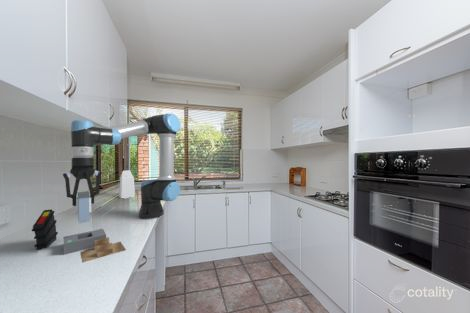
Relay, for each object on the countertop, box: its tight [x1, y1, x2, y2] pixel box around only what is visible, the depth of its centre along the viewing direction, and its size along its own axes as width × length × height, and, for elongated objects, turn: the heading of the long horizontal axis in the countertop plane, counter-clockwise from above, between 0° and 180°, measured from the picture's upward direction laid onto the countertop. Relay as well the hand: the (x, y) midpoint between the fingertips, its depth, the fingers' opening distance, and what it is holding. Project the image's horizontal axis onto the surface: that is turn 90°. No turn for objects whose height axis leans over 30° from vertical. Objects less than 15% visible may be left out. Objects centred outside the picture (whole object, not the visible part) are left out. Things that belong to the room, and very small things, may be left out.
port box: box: [62, 228, 107, 256], centre depth 87 cm, size 14×10×5 cm
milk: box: [118, 169, 136, 199], centre depth 201 cm, size 12×12×26 cm
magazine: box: [31, 209, 59, 251], centre depth 91 cm, size 4×13×15 cm, turn 21°
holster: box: [79, 237, 127, 263], centre depth 81 cm, size 14×11×4 cm
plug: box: [77, 190, 90, 224], centre depth 87 cm, size 4×5×12 cm
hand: (83, 212), depth 87 cm, fingers closed on plug, 4 cm apart
